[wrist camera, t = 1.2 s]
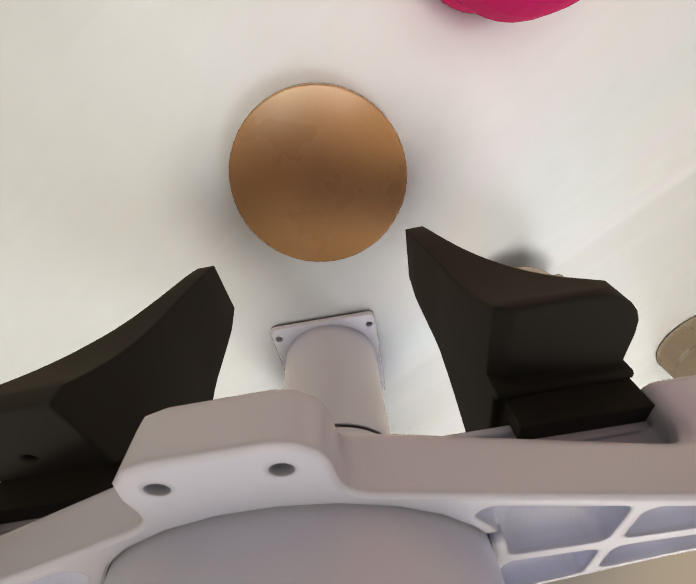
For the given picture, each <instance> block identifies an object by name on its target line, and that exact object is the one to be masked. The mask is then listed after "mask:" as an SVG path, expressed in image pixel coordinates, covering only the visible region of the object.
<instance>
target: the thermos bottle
mask: <svg viewBox="0 0 696 584" xmlns="http://www.w3.org/2000/svg"><path fill="white" fill-rule="evenodd" d="M657 361H658V363H659V364H660V365H661V366H662V367H663V368H664V369H665V370H666V371H667V372H668V373H669V374H670V375H671V376H672V377H673V378H680V377H686V376H692V375H696V316H695V317H693V318H691V319H690V320H688V321H686V322H685V323H683V324H682V325H680V326H679V327H678V328H676V329H675V330H674V331H672V332H671V333H670V334H669V335H668V336H667V337H666V338H665V340H664V341H663V342H662V343H661V345H660V347H659V349H658V351H657Z"/></svg>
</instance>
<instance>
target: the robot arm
mask: <svg viewBox="0 0 696 584" xmlns="http://www.w3.org/2000/svg"><path fill="white" fill-rule="evenodd" d="M406 242H407V255H408V268H409V277H410V281H411V284H412V287H413V290H414V294H415V297H416V299H417V301H418V303H419V306H420V308H421V310H422V312H423V314H424V316H425V318H426V320H427V323H428V325H429V327H430V329H431V331H432V333H433V335H434V337H435V340H436V342H437V344H438V347H439V349H440V352H441V355H442V358H443V361H444V364H445V367H446V369H447V372H448V376H449V379H450V382H451V385H452V388H453V391H454V394H455V397H456V401H457V404H458V407H459V411H460V414H461V417H462V421H463V424H464V427H465V431H466V432H465V433H459V434H453V435H446V436H425V435H397V434H390V431H389V425H388V420H387V414H386V409H385V404H384V398H383V393H382V392H383V391H384V390H385V383H384V377H383V370H382V363H381V356H380V350H379V343H378V336H377V329H376V322H375V316H374V313H372V312H370V311H366V312H360V313H354V314H348V315H342V316H336V317H330V318H324V319H318V320H313V321H307V322H301V323H295V324H289V325H283V326H277V327H273V328H272V330H271V337H272V339H273V342H274V344H275V347H276V349H277V351H278V354H279V356H280V359H281V361H282V364H283V366H284V369H285V378H284V388H283V390H268V391H262V392H256V393H250V394H244V395H238V396H233V397H227V398H221V399H215V400H213V397H214V391H215V386H216V382H217V378H218V375H219V372H220V368H221V365H222V362H223V358H224V355H225V352H226V348H227V345H228V341H229V338H230V334H231V331H232V324H233V316H234V306H233V304H232V302H231V300H230V298H229V296H228V294H227V292H226V290H225V288H224V286H223V283H222V281H221V279H220V277H219V275H218V273H217V271H216V269H215V267H214V266H210V267H205V268H200V269H197V270H195V271H194V272H192V273H191V274H189V275H188V276H187V277H185V278H184V279H183V280H181V281H180V282H179V283H177V284H176V285H175V286H174V287H172V288H171V289H170V290H169V291H167V292H166V293H165V294H164V295H162V296H161V297H160V298H159V299H157V300H156V301H155V302H153V303H152V304H151V305H149V306H148V307H147V308H145V309H144V310H143V311H141V312H140V313H139V314H137V315H136V316H134V317H133V318H132V319H130V320H129V321H127V322H126V323H124V324H123V325H121V326H120V327H118V328H116V329H115V330H113V331H112V332H110V333H108V334H107V335H105V336H103V337H102V338H100V339H98V340H96V341H94V342H92V343H91V344H89V345H87V346H85V347H83V348H81V349H80V350H78V351H76V352H74V353H72V354H70V355H68V356H66V357H64V358H62V359H60V360H58V361H56V362H53V363H51V364H49V365H47V366H44V367H42V368H40V369H38V370H36V371H33V372H31V373H29V374H26V375H24V376H21V377H19V378H16V379H14V380H11V381H9V382H6V383H3V384H1V385H0V584H544V583H548V582H553V581H557V580H562V579H566V578H570V577H575V576H579V575H583V574H587V573H592V572H596V571H600V570H605V569H609V568H614V567H618V566H622V565H627V564H631V563H636V562H640V561H645V560H650V559H654V558H659V557H664V556H669V555H674V554H679V553H684V552H690V551H694V550H696V375H692V376H686V377H680V378H674V379H668V380H662V381H657V382H653V383H650V384H648V385H646V386H645V387H643V388H642V389H641V390H640V389H639V388H638V387H637V386H636V385H635V383H634V382H633V381H632V380H631V379H630V378H631V377H632V376H633V374H634V373H633V370H632V369H631V368H630V367H629V366H628V365H627V363H626V362H625V361H624V360H623V358H624V356H625V354H626V351H627V349H628V347H629V345H630V343H631V341H632V338H633V336H634V334H635V331H636V327H637V324H638V312H637V309H636V308H635V306H634V305H633V304H632V302H630V301H629V300H628V299H627V298H626V297H624V296H623V295H622V294H621V293H619V292H618V291H617V290H616V289H615V288H613V287H612V286H611V285H610V284H608V283H607V282H606V281H602V280H591V279H580V278H568V277H560V276H554V275H548V274H541V273H536V272H531V271H526V270H522V269H518V268H514V267H510V266H507V265H503V264H500V263H497V262H494V261H491V260H488V259H486V258H483V257H480V256H478V255H475V254H473V253H471V252H469V251H467V250H464V249H462V248H460V247H458V246H456V245H455V244H453V243H451V242H449V241H447V240H445V239H444V238H442V237H440V236H438V235H437V234H435V233H433V232H432V231H430V230H428V229H426V228H425V227H423V226H421V227H416V228H411V229H406ZM367 322H371V323H367ZM277 337H282V338H277Z"/></svg>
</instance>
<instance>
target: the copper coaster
mask: <svg viewBox="0 0 696 584" xmlns="http://www.w3.org/2000/svg"><path fill="white" fill-rule="evenodd" d="M229 180H230V186H231V191H232V195H233V198H234V201H235V204H236V206H237V208H238V210H239V213H240V214H241V216H242V218H243V219H244V221H245V222H246V224H247V225H248V226H249V227H250V229H251V230H252V231H253V232H254V233H255V234H256V235H257V236H258V237H259V238H260V239H261V240H262V241H264V242H265V243H266V244H267V245H269V246H270V247H272V248H274V249H275V250H277V251H279V252H281V253H283V254H285V255H288V256H290V257H293V258H297V259H301V260H305V261H314V262H327V261H335V260H340V259H344V258H347V257H350V256H353V255H355V254H357V253H359V252H361V251H363V250H365V249H366V248H368V247H370V246H371V245H372V244H374V243H375V242H376V241H377V240H378V239H380V238H381V237H382V235H383V234H384V233H385V232H386V231H387V230H388V229H389V227H390V226H391V225H392V223H393V222H394V220H395V218H396V216H397V214H398V212H399V210H400V208H401V205H402V202H403V199H404V195H405V190H406V183H407V168H406V160H405V155H404V151H403V148H402V145H401V142H400V140H399V137H398V135H397V133H396V132H395V130H394V128H393V126H392V125H391V123H390V122H389V121H388V120H387V118H386V117H385V116H384V114H383V113H382V112H381V111H380V110H379V109H378V108H377V107H376V106H375V105H374V104H372V103H371V102H370V101H368V100H367V99H365V98H364V97H363V96H361V95H359V94H357V93H355V92H353V91H351V90H349V89H346V88H343V87H340V86H337V85H331V84H326V83H307V84H299V85H295V86H291V87H288V88H285V89H283V90H281V91H278V92H276V93H274V94H273V95H271V96H269V97H268V98H266V99H265V100H263V101H262V102H261V103H260V104H259V105H258V106H257V107H256V108H255V109H253V110H252V112H251V113H250V114H249V115H248V117H247V118H246V119H245V120H244V122H243V124H242V125H241V127H240V129H239V130H238V132H237V135H236V137H235V140H234V142H233V146H232V150H231V154H230V162H229Z"/></svg>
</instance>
